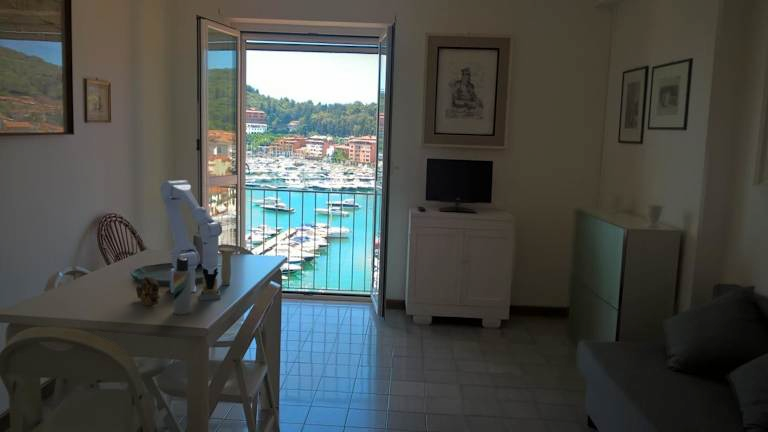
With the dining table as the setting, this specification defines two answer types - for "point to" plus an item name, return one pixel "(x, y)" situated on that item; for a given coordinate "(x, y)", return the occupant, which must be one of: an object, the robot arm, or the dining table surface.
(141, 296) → the wooden carving
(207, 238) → the robot arm
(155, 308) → the dining table surface
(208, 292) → the tan brown block
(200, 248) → the pillar candle
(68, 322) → the dining table surface
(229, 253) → the handle
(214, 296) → the end cap
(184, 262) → the lotion bottle
